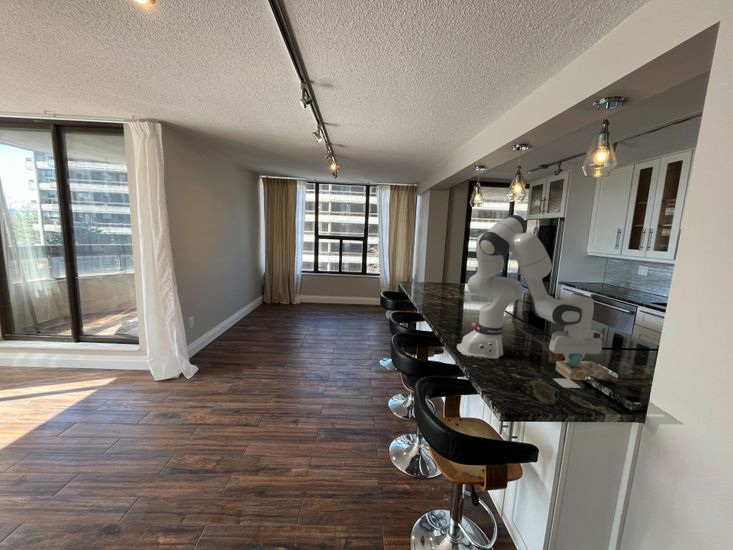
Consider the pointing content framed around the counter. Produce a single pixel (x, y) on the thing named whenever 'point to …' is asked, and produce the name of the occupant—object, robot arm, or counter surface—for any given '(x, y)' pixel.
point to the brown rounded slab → (554, 357)
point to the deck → (567, 383)
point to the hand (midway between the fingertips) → (572, 362)
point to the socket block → (581, 370)
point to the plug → (573, 360)
